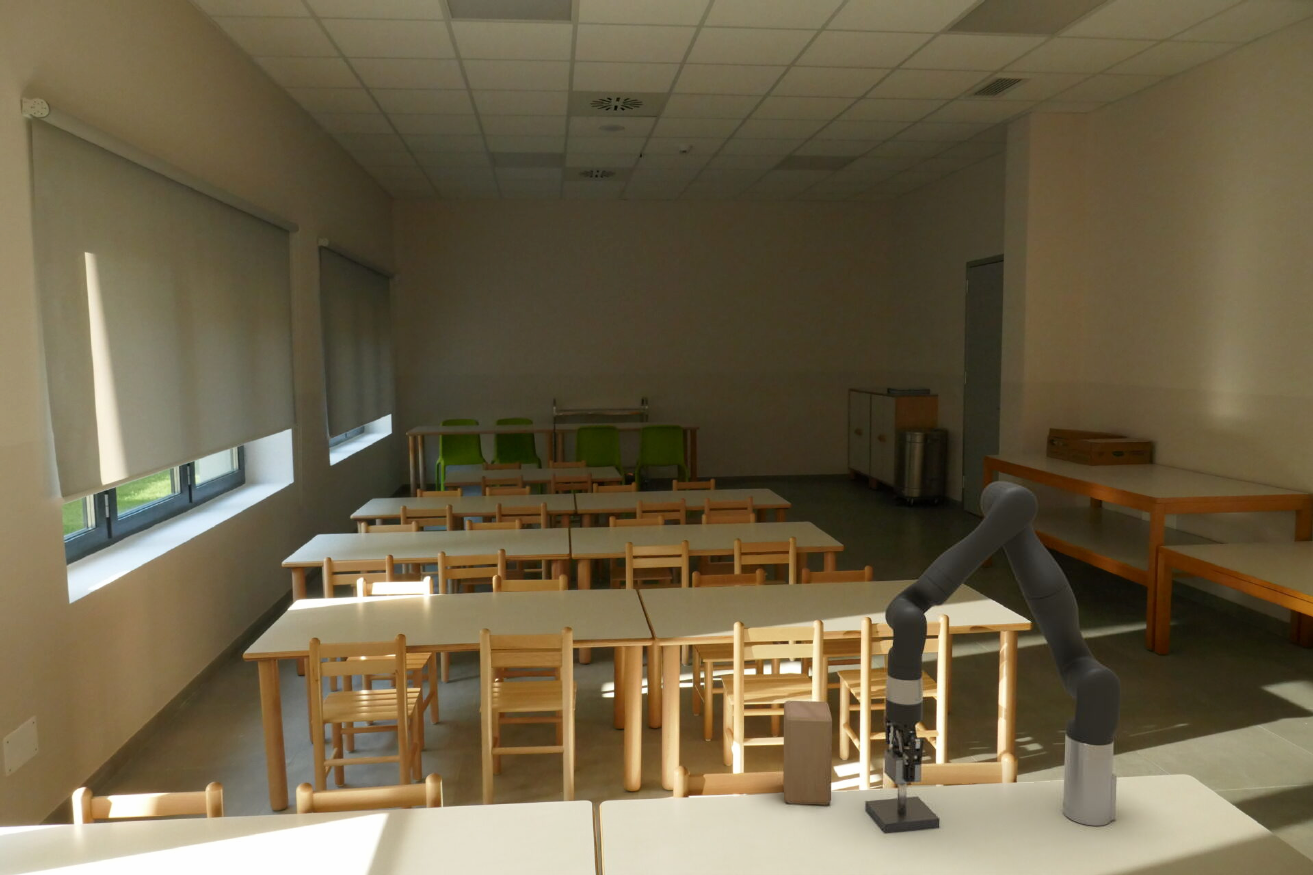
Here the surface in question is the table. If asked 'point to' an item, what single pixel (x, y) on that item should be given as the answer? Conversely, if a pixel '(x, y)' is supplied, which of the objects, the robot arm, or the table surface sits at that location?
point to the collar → (898, 766)
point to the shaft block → (902, 813)
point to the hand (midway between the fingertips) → (902, 774)
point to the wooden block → (807, 752)
